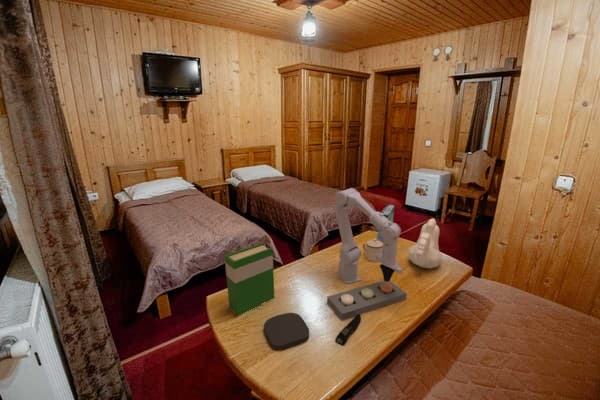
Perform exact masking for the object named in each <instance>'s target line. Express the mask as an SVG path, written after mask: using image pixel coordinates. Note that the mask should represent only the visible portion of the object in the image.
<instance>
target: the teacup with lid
mask: <svg viewBox="0 0 600 400" xmlns="http://www.w3.org/2000/svg"><path fill="white" fill-rule="evenodd" d="M365 246H366V247H365ZM362 249H363V251H365V258H366V260H367V261H369V262H372V263H373V262H375V263H377V262H378V263H379V262H380V260H379V259H378V260H377V259H376V255H377V254H380V255H382V250H383V243H382V242H381V241H378V240H377V238H373V239H370V240H367V241H366V242H364V243H363V244H362Z"/></svg>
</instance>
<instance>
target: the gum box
mask: <svg viewBox="0 0 600 400" xmlns="http://www.w3.org/2000/svg"><path fill="white" fill-rule="evenodd" d="M380 213H383V214H384V215H383V216H385V217H386V218H387V219H388V220H389V221H391V222H392V223H394V213H395V205H393V204H386V206H385V207H383V209H382V210H381V211H380ZM376 239H377V240H378V241H381V242H382V243H383V237H382V235H381V232H380V231H379V230H378V229H377V238H376Z"/></svg>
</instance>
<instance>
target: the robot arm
mask: <svg viewBox="0 0 600 400" xmlns="http://www.w3.org/2000/svg"><path fill="white" fill-rule="evenodd" d="M333 199H334V212H335V217H336V221H337V226H338V230H339V236H340V239H341V246H340V248H339V262H338V273H336V275H337V276H338V277H339V278H340V279H341V280H342V281H343V282H344V283H345V284H347V285H349V284H352V283H356V282H360V281H361V280H362V279H361V278H360V277H359V276H358V270H359V269H358V268H359V267H358V266H359V259H360V258H362V251H361V249H360V247H359V245H358V243H357V242H356V241H355V239H354V236H353V231H352V227H351V226H352V225H351V223H350V222H351V221H350V217H349V213H348V212H349V211H348V209H349V207H350V206H351V207H356V208H358V209H359V210H360V211H361V212H363V213H364V214H365V215H366V216H367V217H369V218H368V219H369V223H371V224H372V225H373V226H374V227H375V228H376V229H377V231H378V230H379V231H380V232H381V235H382V237H383V250H382V255H380V254H377V255H376V259H377V260H378V259H379V260H380V261H379V262H380V263H381V264H379V268H380V270H381V272H382V277H383V280H384V281H386V282H388V281H391V279H392V276H393V274H394V273H395V272H396V274H397V275H401V274H403V268H402V267H401V266H400V265H399V264H398V259H397V254H398V253H397V251H398V242H399V236H400V235H401V232H402V228H401V227H400V225H399V224H398V223H395V222H393V223H392V222H391V221H389V220H388V219H387V218H386V217H385V216H383V215H384V214H383V213H381V211H376V210H374V209H373V208H372V207H371V205H370V204H368V203H367V201H366V200H365V199H364V198H363V197H362V196H361V193H360V192H359V191H358V190H357V189H356V188H354V187H350V188H347V189H345V190H340V191H337V192H336V194H335V195H334V197H333Z"/></svg>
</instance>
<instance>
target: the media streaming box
mask: <svg viewBox="0 0 600 400" xmlns="http://www.w3.org/2000/svg"><path fill="white" fill-rule="evenodd" d="M263 331H264V334H265V337H266V339H267V342H268V343H269V345H270V347H271V348H272V349H274V350H275V351H285V350H287V349H290V348H295V347H297V346H299V345H302V344H304V343H306V342H308V340H309V339H310V329H309V327H308V325H307V324H306V322H305V320H304V319H303V317H302V316H301V315H300V314H298V313H295V312H287V313H286V312H285V313H282V314H279V315H275V316H273V317H270V318H269V319H267V320H265V322H264V324H263Z"/></svg>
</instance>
